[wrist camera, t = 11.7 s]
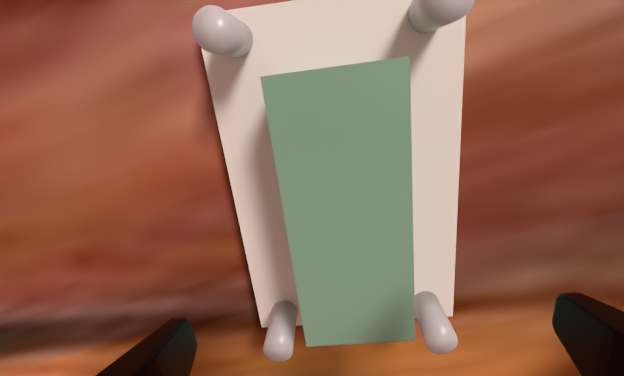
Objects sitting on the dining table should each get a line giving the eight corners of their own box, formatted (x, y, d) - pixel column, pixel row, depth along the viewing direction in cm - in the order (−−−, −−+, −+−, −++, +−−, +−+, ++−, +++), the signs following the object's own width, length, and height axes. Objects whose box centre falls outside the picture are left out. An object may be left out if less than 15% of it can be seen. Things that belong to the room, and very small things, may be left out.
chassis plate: (453, -15, 14) (506, -53, 10) (444, 299, 20) (474, 357, 16) (206, 20, 15) (160, -1, 11) (265, 311, 21) (251, 368, 17)
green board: (385, 62, 14) (410, 56, 10) (394, 279, 18) (415, 340, 14) (279, 76, 15) (260, 76, 10) (311, 285, 19) (306, 346, 14)
